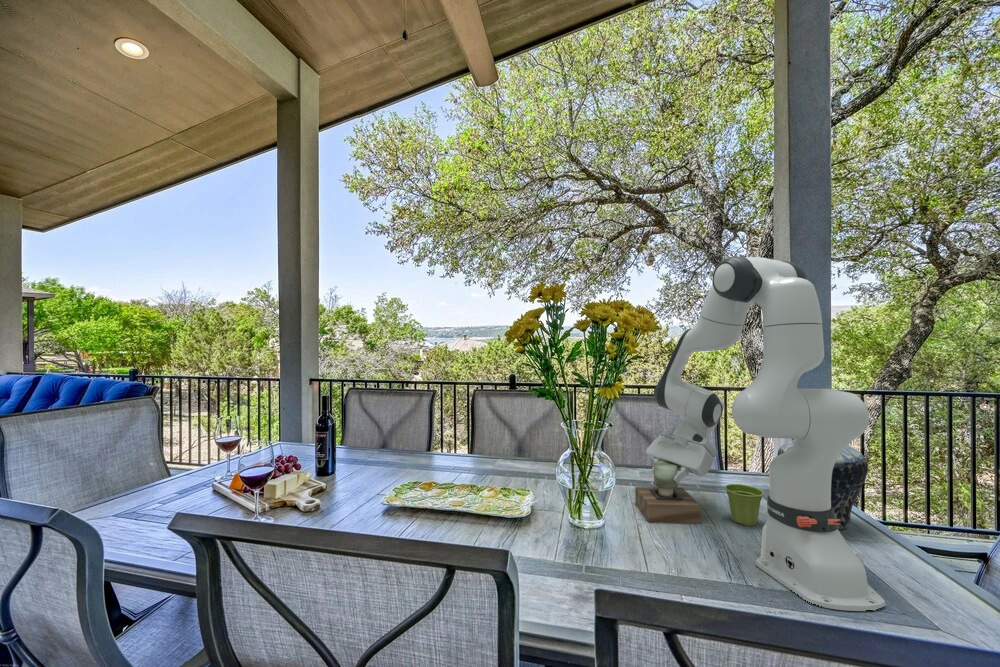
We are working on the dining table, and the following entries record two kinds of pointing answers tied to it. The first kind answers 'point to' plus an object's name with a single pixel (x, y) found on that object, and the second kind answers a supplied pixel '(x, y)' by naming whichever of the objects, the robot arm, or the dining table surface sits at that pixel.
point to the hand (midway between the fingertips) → (664, 477)
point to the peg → (665, 477)
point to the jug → (843, 480)
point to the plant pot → (744, 503)
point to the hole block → (667, 506)
